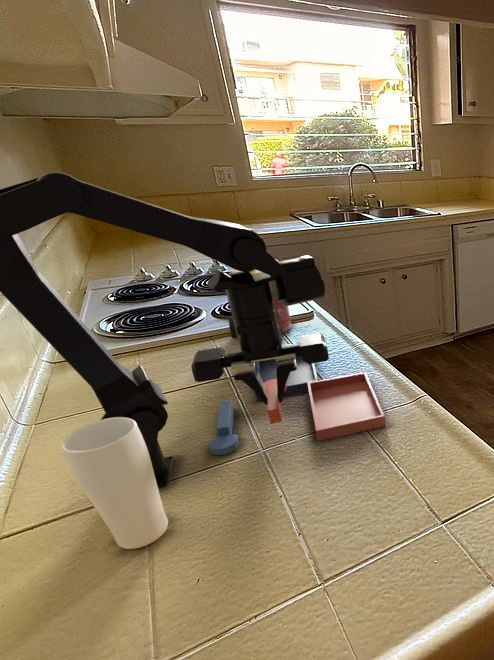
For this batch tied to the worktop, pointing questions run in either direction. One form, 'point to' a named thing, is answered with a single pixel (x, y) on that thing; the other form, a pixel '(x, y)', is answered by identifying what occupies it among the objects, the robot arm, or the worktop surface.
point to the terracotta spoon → (273, 401)
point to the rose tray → (344, 406)
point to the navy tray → (296, 378)
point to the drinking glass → (118, 479)
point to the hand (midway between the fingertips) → (274, 403)
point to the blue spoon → (224, 431)
